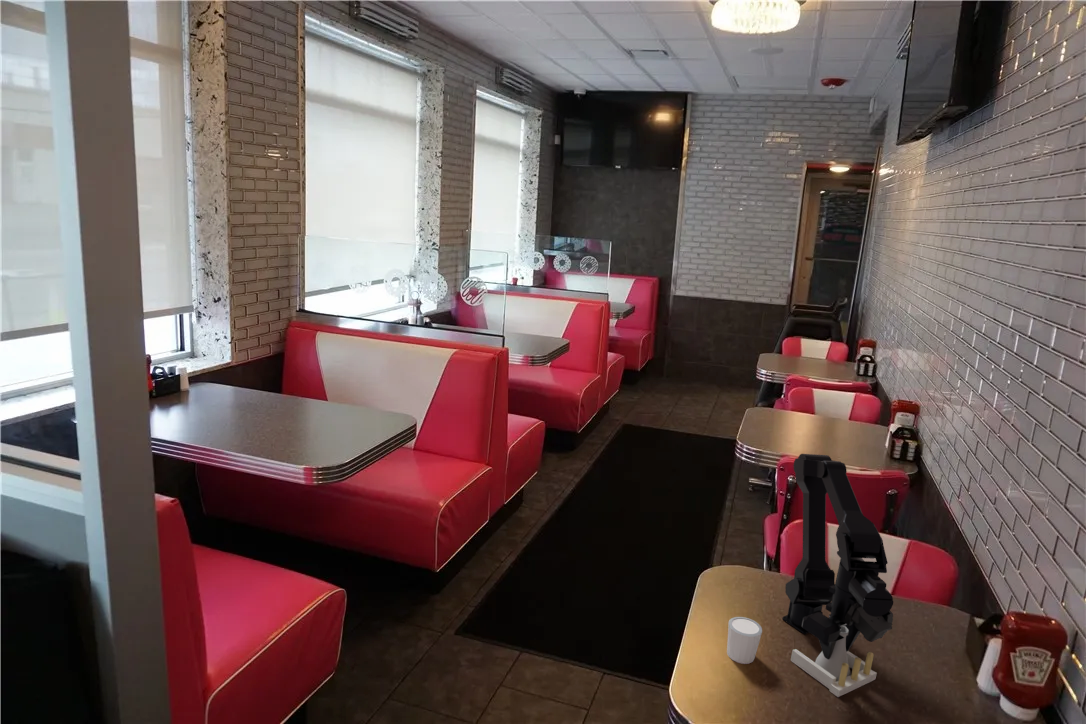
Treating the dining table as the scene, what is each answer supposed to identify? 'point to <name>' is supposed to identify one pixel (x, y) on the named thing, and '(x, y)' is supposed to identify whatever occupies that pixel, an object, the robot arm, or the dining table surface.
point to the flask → (836, 656)
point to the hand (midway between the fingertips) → (836, 654)
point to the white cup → (743, 639)
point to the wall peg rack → (845, 684)
